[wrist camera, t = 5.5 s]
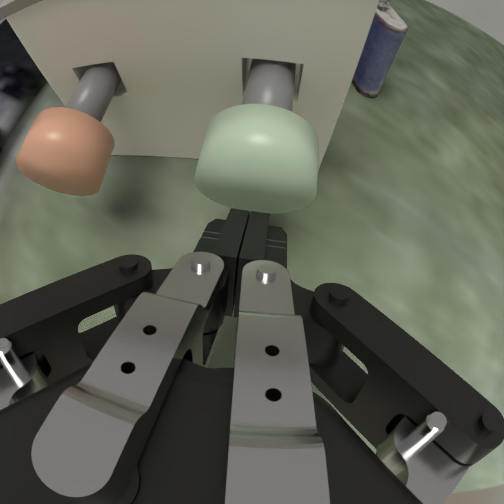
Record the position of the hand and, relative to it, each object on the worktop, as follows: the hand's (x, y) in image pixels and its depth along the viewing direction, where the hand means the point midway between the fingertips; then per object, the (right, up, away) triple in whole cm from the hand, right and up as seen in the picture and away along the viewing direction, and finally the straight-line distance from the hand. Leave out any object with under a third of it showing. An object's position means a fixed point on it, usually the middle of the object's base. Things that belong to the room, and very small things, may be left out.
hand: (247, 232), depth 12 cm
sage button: (+1, +5, +4) cm, 6 cm away
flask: (+11, +18, +14) cm, 25 cm away
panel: (-3, +8, +11) cm, 14 cm away
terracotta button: (-9, +7, +4) cm, 12 cm away
